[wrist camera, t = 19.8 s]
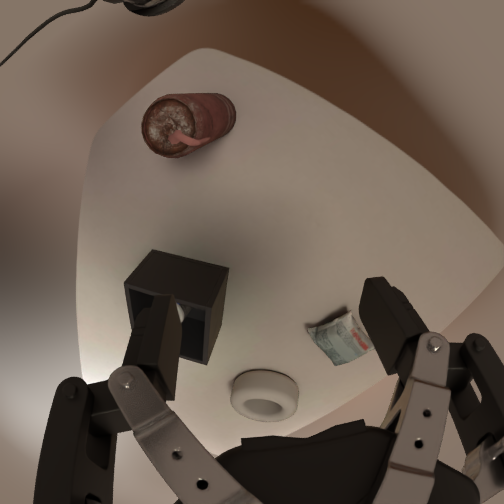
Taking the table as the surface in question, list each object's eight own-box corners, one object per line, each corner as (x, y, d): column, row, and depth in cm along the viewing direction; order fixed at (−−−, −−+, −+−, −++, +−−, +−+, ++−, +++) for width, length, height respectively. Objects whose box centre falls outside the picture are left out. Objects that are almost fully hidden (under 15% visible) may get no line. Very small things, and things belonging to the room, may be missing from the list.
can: (229, 144, 36) (189, 171, 24) (186, 128, 36) (131, 148, 24) (246, 103, 33) (212, 107, 21) (201, 87, 33) (147, 87, 21)
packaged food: (350, 300, 45) (352, 321, 41) (377, 339, 49) (380, 359, 45) (306, 320, 49) (304, 341, 45) (338, 356, 53) (338, 376, 49)
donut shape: (306, 399, 62) (304, 422, 57) (249, 403, 67) (244, 425, 62) (288, 364, 56) (284, 390, 50) (224, 370, 61) (216, 394, 55)
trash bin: (155, 307, 54) (134, 341, 46) (152, 249, 47) (123, 282, 39) (221, 325, 53) (206, 365, 45) (229, 267, 46) (211, 308, 38)
